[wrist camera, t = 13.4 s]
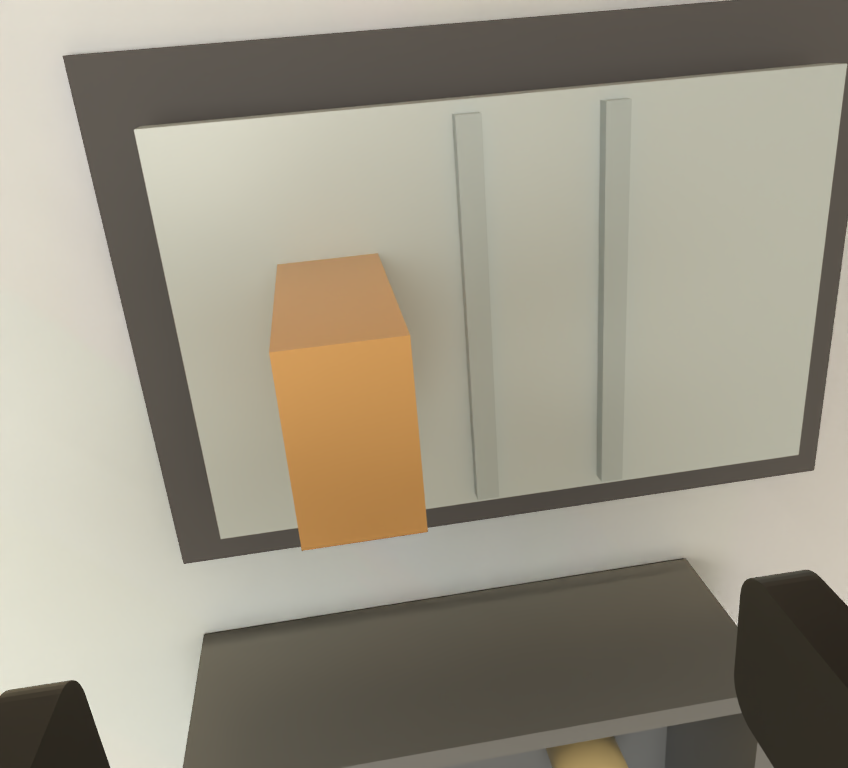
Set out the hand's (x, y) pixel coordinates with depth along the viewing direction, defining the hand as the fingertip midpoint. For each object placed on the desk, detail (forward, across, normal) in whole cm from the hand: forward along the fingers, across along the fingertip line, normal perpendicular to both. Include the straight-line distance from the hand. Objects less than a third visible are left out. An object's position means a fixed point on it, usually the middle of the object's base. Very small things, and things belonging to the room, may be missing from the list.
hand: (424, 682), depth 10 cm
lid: (+13, -4, 0) cm, 14 cm away
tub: (+14, -2, +15) cm, 20 cm away
